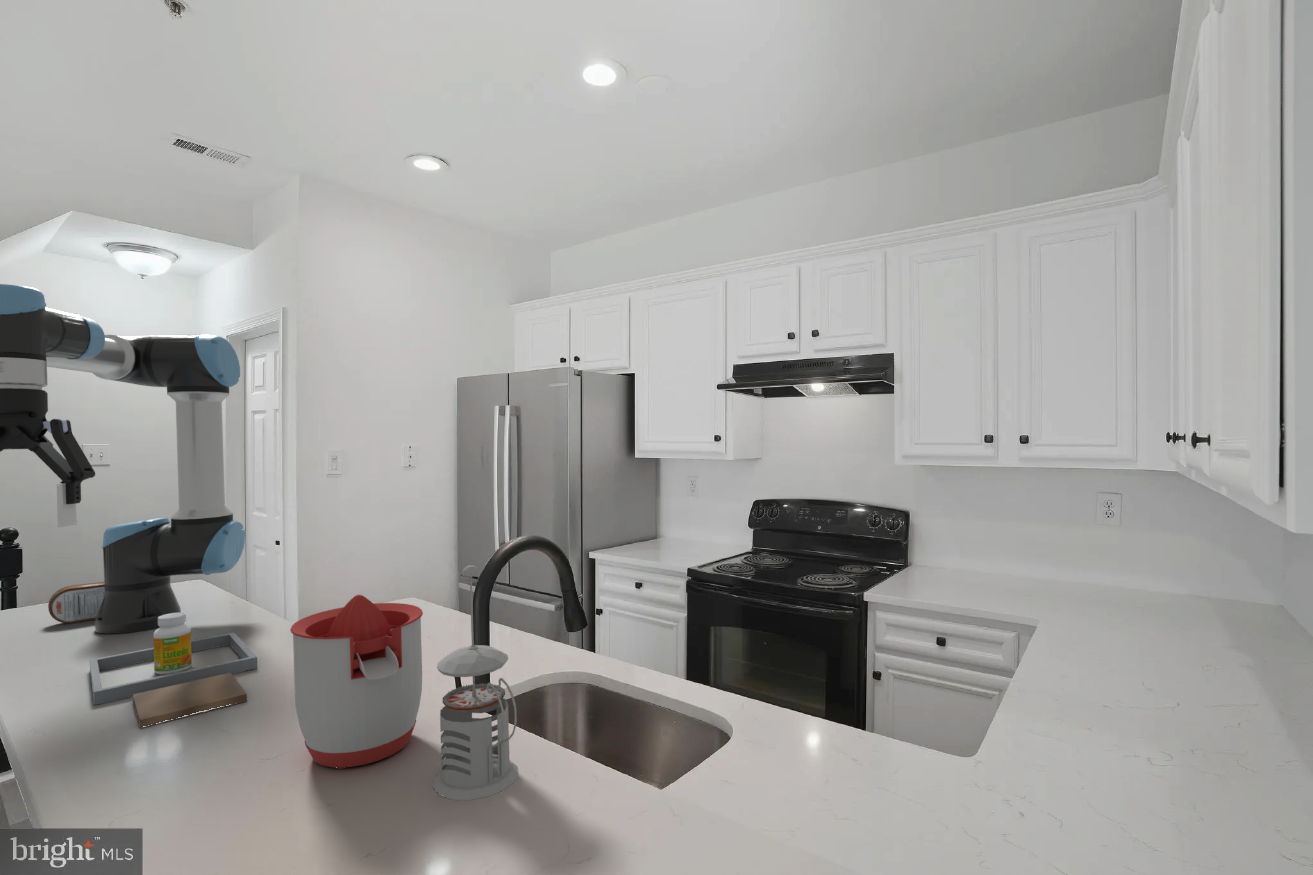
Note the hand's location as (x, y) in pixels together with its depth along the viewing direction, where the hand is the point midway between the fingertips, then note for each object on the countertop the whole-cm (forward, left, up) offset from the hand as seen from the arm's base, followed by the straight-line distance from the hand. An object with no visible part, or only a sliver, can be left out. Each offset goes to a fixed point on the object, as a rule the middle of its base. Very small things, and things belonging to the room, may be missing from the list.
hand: (17, 527), depth 100 cm
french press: (+33, +73, -28) cm, 85 cm away
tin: (-56, -28, -28) cm, 69 cm away
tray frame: (-15, +13, -28) cm, 34 cm away
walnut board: (+1, +24, -28) cm, 37 cm away
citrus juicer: (+23, +57, -28) cm, 67 cm away
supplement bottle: (-15, +13, -28) cm, 34 cm away
